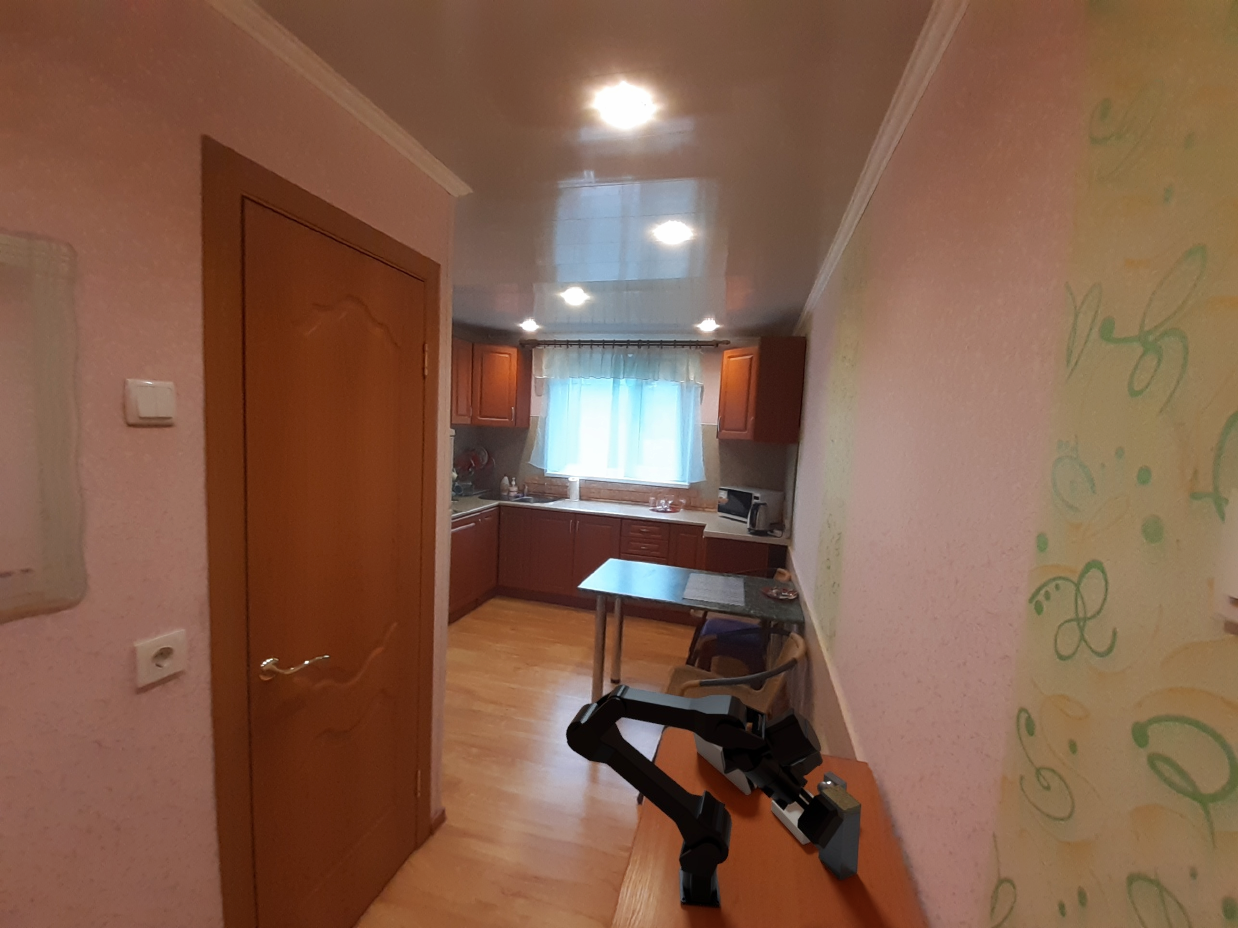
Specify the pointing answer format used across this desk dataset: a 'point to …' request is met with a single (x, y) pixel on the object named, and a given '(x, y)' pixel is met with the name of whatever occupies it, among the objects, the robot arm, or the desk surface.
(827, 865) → the tan and grey block
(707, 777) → the desk surface
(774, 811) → the white square tray
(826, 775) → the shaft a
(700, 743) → the white electronic device
